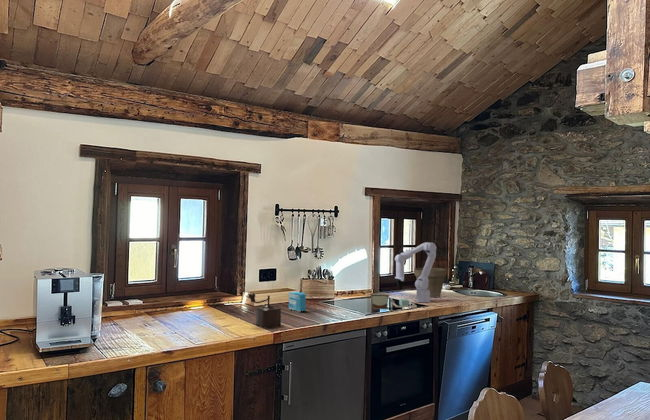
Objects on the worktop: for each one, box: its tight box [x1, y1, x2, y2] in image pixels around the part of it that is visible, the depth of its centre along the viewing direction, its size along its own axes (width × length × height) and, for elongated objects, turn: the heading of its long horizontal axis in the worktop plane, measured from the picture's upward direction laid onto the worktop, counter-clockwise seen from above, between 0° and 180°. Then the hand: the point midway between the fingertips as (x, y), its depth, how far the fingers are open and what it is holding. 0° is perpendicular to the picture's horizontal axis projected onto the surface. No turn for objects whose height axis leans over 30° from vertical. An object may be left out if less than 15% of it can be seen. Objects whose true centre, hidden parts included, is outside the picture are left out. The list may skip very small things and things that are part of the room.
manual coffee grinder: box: [248, 292, 282, 328], centre depth 261 cm, size 16×11×18 cm
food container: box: [370, 292, 390, 310], centre depth 319 cm, size 12×6×10 cm, turn 84°
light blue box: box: [288, 291, 307, 312], centre depth 306 cm, size 12×4×12 cm, turn 43°
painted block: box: [398, 298, 410, 306], centre depth 332 cm, size 5×7×4 cm
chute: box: [390, 298, 418, 308], centre depth 336 cm, size 14×26×2 cm, turn 4°
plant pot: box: [413, 267, 447, 299], centre depth 374 cm, size 25×25×22 cm
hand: (400, 289), depth 342 cm, fingers closed
